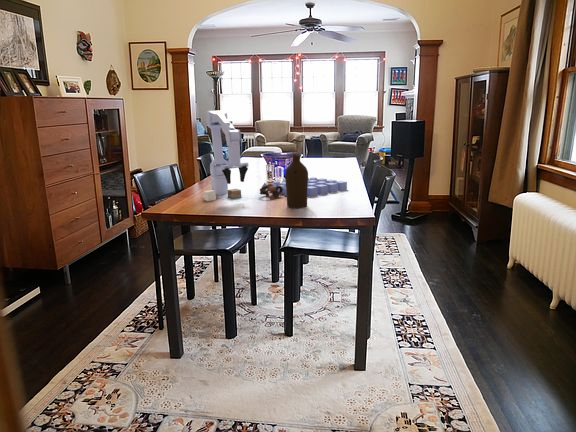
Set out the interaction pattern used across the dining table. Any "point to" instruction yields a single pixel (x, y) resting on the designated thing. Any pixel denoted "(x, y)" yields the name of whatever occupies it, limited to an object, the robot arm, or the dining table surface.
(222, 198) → the board
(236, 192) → the walnut base block
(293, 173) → the olive oil
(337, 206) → the dining table surface
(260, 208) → the dining table surface
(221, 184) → the robot arm
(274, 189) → the dark brown figurine
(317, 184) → the blocks
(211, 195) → the ivory block
